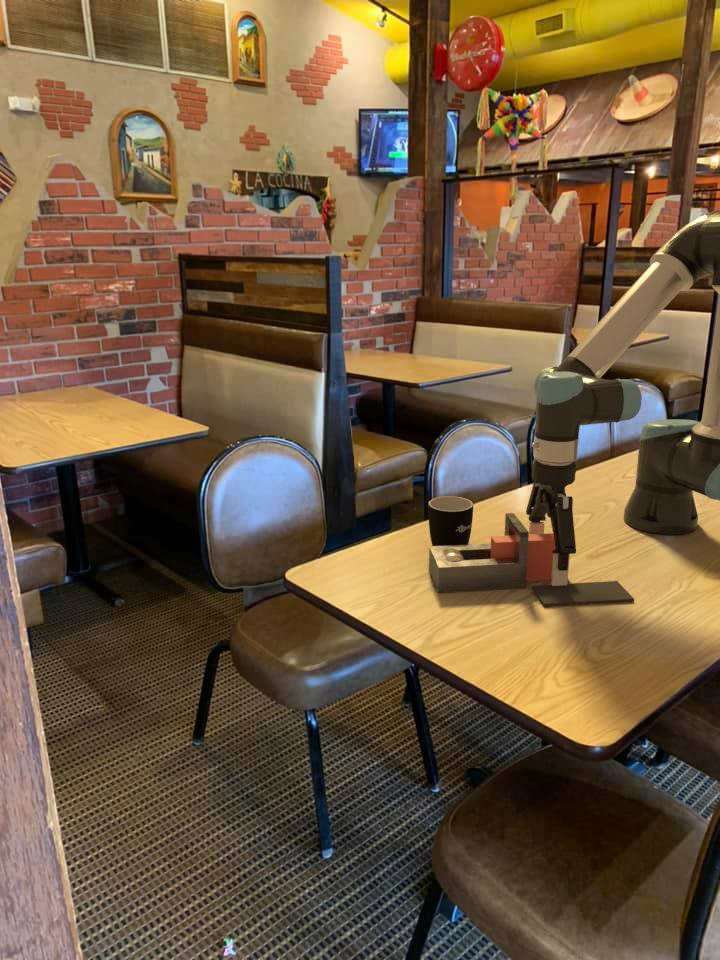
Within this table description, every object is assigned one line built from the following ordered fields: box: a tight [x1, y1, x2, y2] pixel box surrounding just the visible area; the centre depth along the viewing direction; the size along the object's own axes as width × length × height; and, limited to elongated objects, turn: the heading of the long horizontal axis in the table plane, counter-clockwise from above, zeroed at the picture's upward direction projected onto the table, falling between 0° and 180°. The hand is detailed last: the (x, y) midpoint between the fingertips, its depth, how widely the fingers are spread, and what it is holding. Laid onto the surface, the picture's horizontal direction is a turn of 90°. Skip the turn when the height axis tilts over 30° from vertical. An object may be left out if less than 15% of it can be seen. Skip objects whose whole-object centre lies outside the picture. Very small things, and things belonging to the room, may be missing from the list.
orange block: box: [490, 532, 556, 581], centre depth 134 cm, size 14×3×8 cm, turn 95°
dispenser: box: [428, 512, 529, 594], centre depth 133 cm, size 16×10×11 cm, turn 95°
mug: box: [427, 495, 474, 546], centre depth 147 cm, size 12×9×10 cm
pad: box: [530, 580, 635, 608], centre depth 128 cm, size 16×7×1 cm, turn 95°
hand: (546, 568), depth 135 cm, fingers open, 13 cm apart
